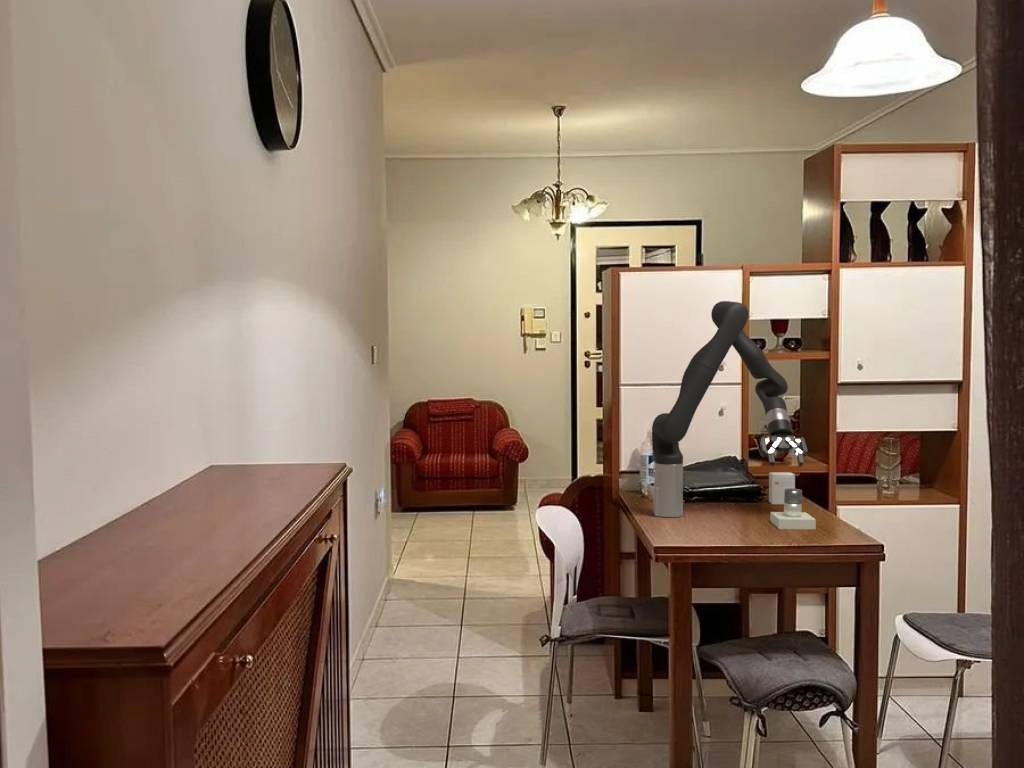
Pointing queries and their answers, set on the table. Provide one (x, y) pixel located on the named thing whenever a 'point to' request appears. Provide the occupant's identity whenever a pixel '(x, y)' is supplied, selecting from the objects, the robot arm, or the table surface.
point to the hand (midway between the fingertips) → (787, 465)
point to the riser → (793, 521)
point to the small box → (779, 485)
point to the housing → (792, 502)
